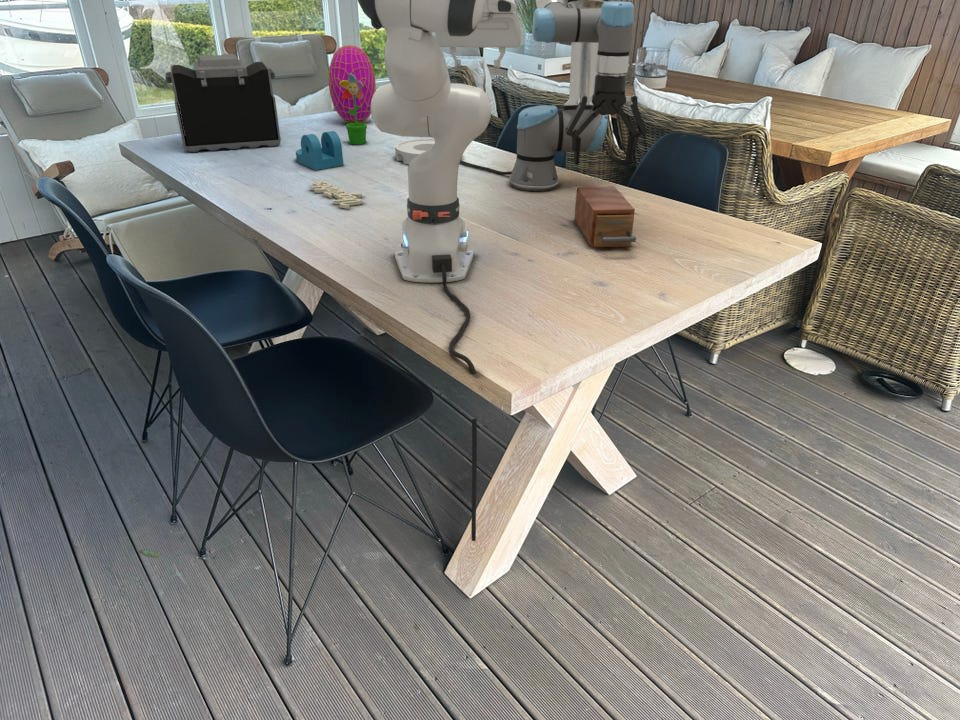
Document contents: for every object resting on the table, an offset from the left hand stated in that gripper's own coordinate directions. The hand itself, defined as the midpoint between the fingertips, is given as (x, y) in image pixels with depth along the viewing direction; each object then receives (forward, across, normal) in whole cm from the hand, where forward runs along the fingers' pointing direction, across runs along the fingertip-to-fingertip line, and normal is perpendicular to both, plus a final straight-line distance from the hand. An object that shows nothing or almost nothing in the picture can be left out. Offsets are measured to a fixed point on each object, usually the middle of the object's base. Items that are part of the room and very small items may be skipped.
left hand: (477, 68), depth 165 cm
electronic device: (+38, -89, +92) cm, 133 cm away
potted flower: (+38, -42, +92) cm, 108 cm away
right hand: (+22, +32, -2) cm, 39 cm away
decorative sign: (+39, -40, +26) cm, 62 cm away
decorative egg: (+38, -47, +129) cm, 142 cm away
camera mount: (+38, -53, +64) cm, 91 cm away
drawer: (+38, +33, -12) cm, 52 cm away
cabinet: (+39, +32, -7) cm, 51 cm away
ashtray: (+38, -14, +70) cm, 81 cm away
